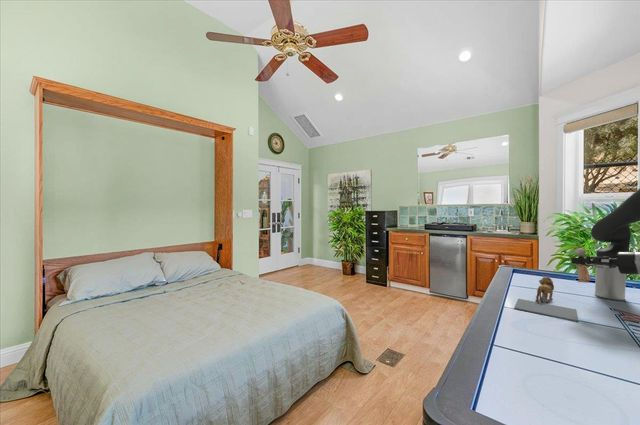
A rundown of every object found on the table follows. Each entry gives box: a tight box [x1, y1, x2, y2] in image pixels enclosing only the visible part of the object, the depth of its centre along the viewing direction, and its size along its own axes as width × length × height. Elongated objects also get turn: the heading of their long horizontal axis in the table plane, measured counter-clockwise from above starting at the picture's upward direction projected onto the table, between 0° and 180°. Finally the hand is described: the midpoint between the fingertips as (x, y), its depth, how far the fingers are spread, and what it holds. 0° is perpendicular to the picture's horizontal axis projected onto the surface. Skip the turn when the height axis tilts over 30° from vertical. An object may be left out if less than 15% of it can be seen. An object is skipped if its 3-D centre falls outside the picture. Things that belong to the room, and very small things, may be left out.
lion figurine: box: [535, 276, 555, 304], centre depth 117 cm, size 15×5×9 cm, turn 137°
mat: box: [513, 298, 579, 323], centre depth 106 cm, size 14×18×1 cm
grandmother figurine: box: [573, 247, 591, 284], centre depth 105 cm, size 8×4×13 cm, turn 135°
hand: (574, 261), depth 107 cm, fingers closed on grandmother figurine, 7 cm apart
